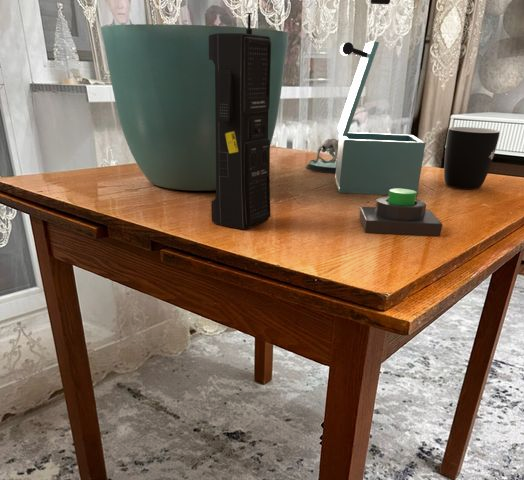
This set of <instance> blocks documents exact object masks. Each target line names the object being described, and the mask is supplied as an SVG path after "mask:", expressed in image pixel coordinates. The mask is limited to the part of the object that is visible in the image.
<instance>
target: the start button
mask: <svg viewBox="0 0 524 480" xmlns="http://www.w3.org/2000/svg"><path fill="white" fill-rule="evenodd" d="M417 192H418V191H417ZM417 192H416V191H414V190H410V189H400V188H396V189H390V191H389V195H388V197H389V198H388V202H389V203H392V204H397V205H415V199H417V196H416V193H417ZM417 194H418V193H417Z"/></svg>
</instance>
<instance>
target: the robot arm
mask: <svg viewBox="0 0 524 480" xmlns="http://www.w3.org/2000/svg"><path fill="white" fill-rule="evenodd" d="M390 3H391V0H370V4H371V5H390Z"/></svg>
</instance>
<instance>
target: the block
mask: <svg viewBox="0 0 524 480" xmlns="http://www.w3.org/2000/svg"><path fill="white" fill-rule="evenodd" d="M388 198H389V196H381V197H379V198H377V199H376V202H375V203H376V204H375V206H360V207H359V215H358V218H359V221H360V223H361V225H362V228H363V231H364V233H366V234H381V235H382V234H383V235H385V234H386V235H402V236H404V235H405V236H406V235H407V236H426V237H440V236H441V233H442V229H443V223H442V222H441V221H440V219H438V217H437V216H436V215H435V214H434V213H433V212H432V211H431V210H430V209H427V202H425V201H424V200H421V199H417V198H416V199H415V205H397V204H392V203H389V202H388Z"/></svg>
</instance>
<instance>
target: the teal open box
mask: <svg viewBox="0 0 524 480" xmlns="http://www.w3.org/2000/svg"><path fill="white" fill-rule="evenodd" d="M338 132H339V133H338V140H339V141H338V152H337V159H336V160H337V163H336V173H334V183H335V185H336V188H337V191H338V193H339V194H353V195H354V194H357V195H360V194H361V195H376V196H378V195H380V196H389V191H390V189H396V188H400V189H410V190H414V191H416V192H417V193H416V197H417V196H418V193H419V186H420V181H421V180H420V179H421V175H422V167H423V160H424V157H425V156H424V155H425V148H426V142H425V141H423V140H422V139H420V138H419V137H417V136H415V135H413V134H399V133H398V134H397V133H375V132H352V131H351V132H350V131H349V132H348V134H347V137H344V136H342V135H341V133H340V131H338Z"/></svg>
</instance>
